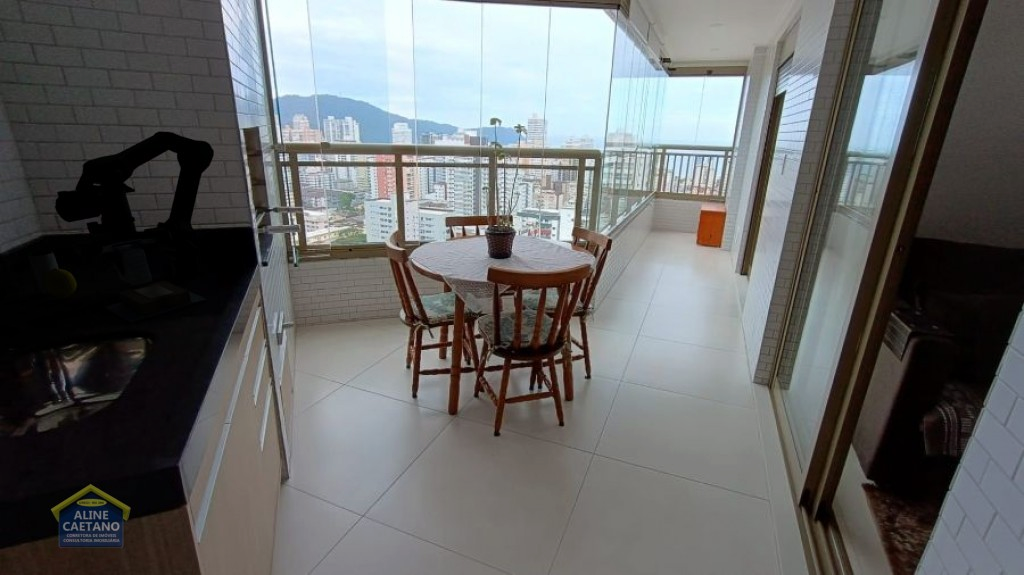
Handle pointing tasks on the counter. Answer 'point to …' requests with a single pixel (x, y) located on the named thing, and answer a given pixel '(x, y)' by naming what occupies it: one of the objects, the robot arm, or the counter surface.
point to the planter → (42, 266)
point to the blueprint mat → (135, 316)
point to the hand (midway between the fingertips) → (134, 272)
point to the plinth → (154, 297)
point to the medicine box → (133, 265)
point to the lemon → (60, 283)
